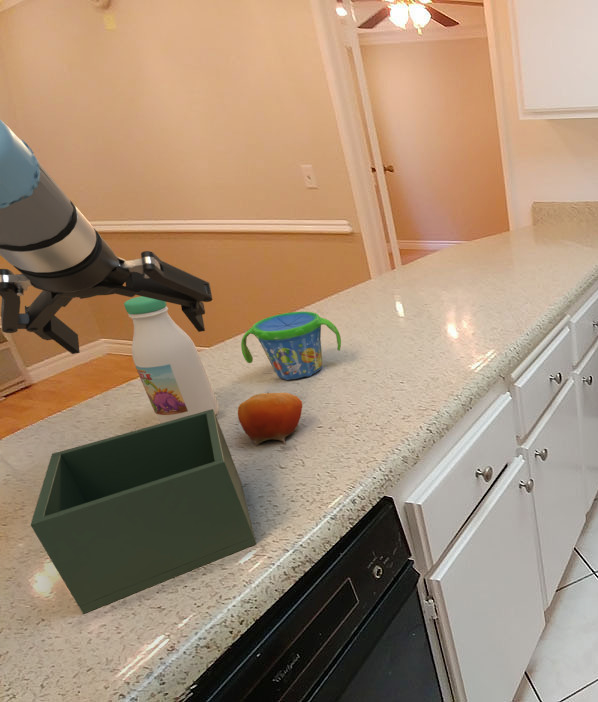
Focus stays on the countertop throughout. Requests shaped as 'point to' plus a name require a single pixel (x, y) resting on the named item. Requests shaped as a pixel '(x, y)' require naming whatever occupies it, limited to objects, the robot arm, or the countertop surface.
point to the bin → (141, 508)
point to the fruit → (270, 416)
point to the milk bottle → (168, 362)
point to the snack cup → (291, 343)
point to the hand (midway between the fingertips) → (140, 333)
